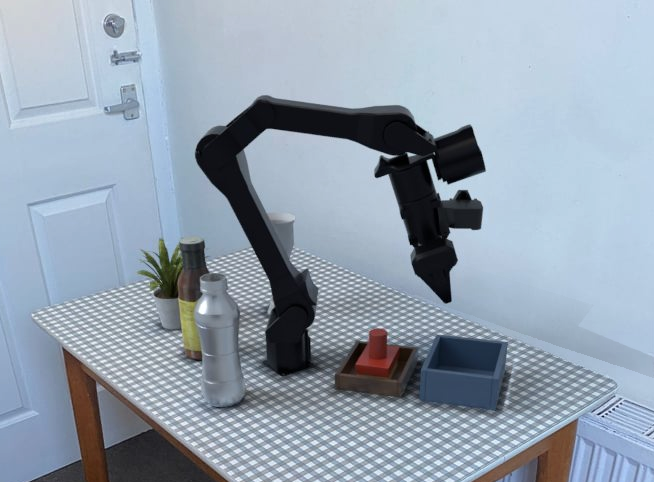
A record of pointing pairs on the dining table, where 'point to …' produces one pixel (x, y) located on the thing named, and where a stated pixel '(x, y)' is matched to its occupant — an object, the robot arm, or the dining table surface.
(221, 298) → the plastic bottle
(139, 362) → the dining table surface
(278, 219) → the chalice
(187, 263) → the sauce bottle
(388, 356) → the brush
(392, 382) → the brown wooden tray
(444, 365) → the tote
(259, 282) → the dining table surface
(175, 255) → the house plant
